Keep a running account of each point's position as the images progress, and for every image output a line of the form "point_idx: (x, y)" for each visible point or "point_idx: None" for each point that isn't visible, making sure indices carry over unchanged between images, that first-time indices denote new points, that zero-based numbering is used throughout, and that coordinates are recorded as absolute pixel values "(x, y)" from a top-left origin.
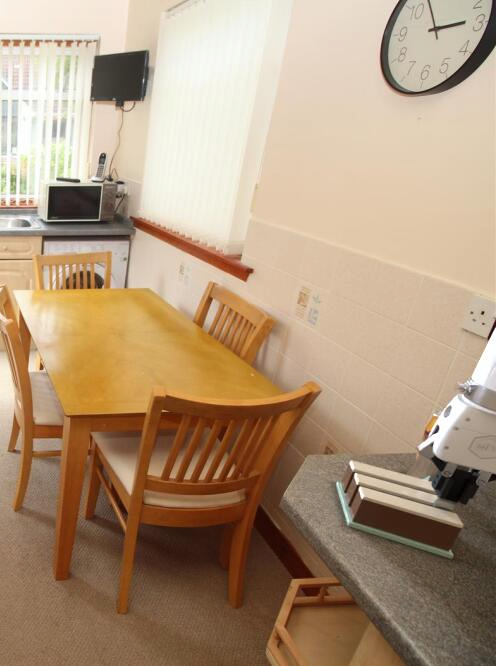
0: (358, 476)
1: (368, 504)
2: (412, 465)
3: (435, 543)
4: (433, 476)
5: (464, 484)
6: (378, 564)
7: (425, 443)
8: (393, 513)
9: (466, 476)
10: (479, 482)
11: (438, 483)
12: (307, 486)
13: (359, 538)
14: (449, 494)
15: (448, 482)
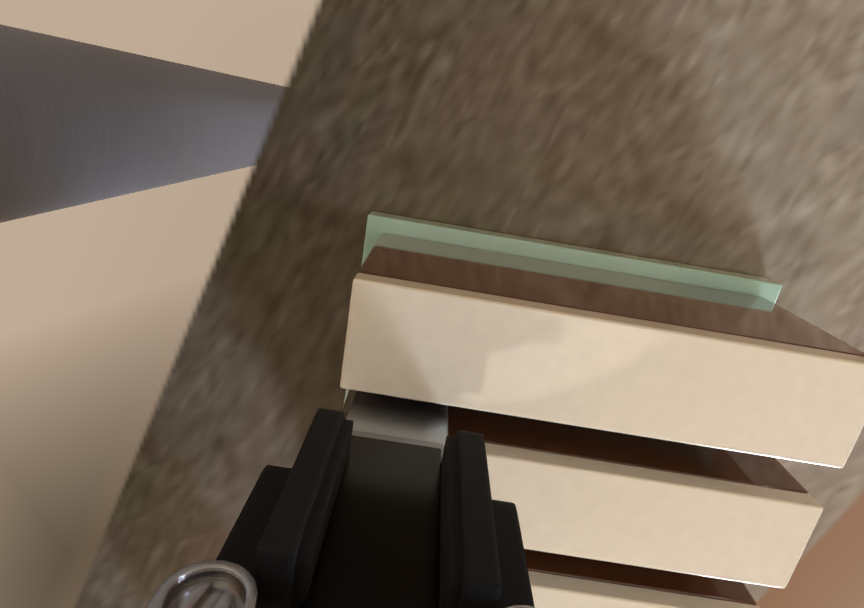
0: (790, 558)
1: (818, 339)
2: None
3: (438, 247)
4: None
5: (333, 565)
6: (762, 35)
7: None
8: (678, 315)
9: None
10: (220, 600)
11: (517, 542)
12: None
13: (755, 206)
14: (410, 475)
15: (489, 547)
